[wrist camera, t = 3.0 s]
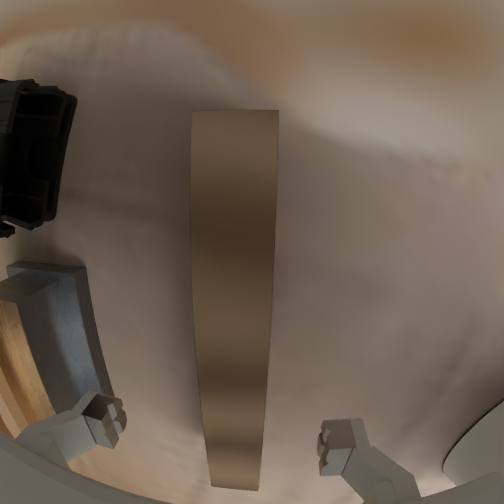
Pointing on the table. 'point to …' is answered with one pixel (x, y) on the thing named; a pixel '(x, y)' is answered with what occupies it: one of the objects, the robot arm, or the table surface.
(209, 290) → the walnut beam
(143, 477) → the table surface
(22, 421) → the fulcrum stand
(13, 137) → the end cap
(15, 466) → the robot arm
